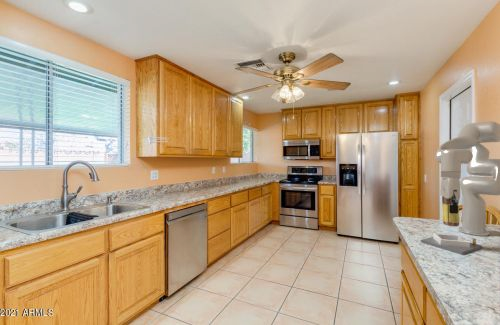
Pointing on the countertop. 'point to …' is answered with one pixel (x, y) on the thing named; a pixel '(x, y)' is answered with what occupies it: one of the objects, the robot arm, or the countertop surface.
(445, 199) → the sauce bottle
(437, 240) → the locating plate
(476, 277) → the countertop surface
